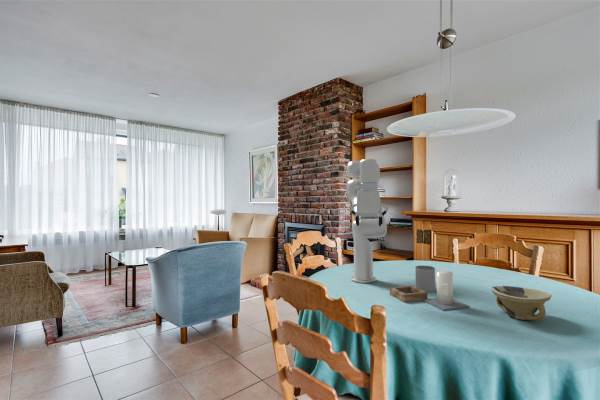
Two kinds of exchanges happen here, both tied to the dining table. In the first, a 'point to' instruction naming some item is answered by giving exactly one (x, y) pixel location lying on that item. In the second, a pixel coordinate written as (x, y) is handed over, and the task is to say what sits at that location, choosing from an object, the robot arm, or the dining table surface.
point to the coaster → (446, 307)
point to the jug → (444, 287)
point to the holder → (408, 293)
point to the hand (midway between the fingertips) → (368, 225)
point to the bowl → (521, 302)
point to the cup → (425, 278)
